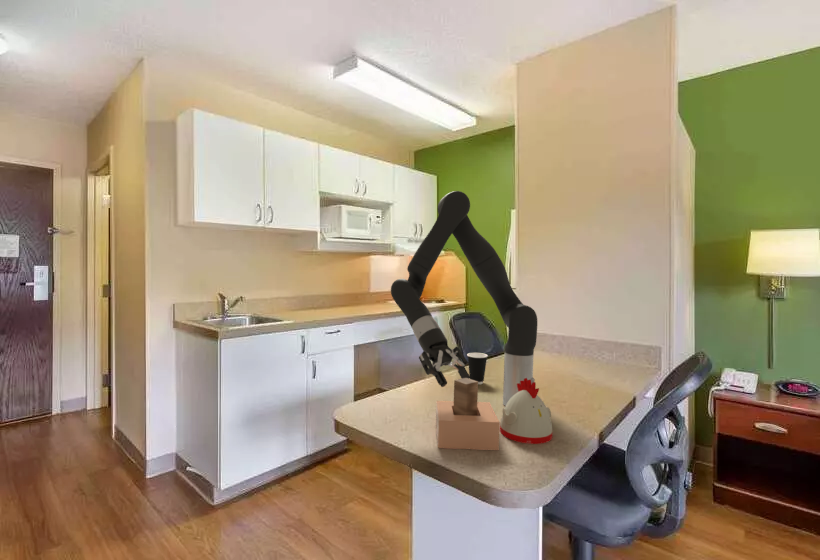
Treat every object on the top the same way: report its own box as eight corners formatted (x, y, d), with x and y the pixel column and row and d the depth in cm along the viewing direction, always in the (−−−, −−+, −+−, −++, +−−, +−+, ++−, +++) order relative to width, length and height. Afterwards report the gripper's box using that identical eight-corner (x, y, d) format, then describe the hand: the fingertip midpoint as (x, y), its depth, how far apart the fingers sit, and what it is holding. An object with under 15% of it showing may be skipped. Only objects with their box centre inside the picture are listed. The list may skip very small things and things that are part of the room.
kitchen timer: (521, 447, 105) (523, 388, 105) (489, 427, 118) (491, 374, 117) (563, 439, 111) (565, 383, 110) (529, 421, 123) (531, 370, 123)
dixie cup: (491, 384, 160) (491, 356, 160) (473, 386, 157) (474, 357, 157) (479, 379, 168) (480, 352, 167) (462, 381, 164) (463, 353, 164)
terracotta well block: (488, 426, 118) (489, 402, 118) (498, 450, 103) (499, 422, 103) (435, 424, 118) (436, 400, 118) (438, 448, 103) (438, 420, 103)
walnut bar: (464, 428, 114) (465, 377, 113) (476, 433, 110) (478, 381, 110) (452, 432, 111) (454, 380, 110) (464, 437, 107) (466, 384, 107)
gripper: (416, 329, 115) (444, 379, 107) (453, 325, 124) (481, 371, 116) (404, 345, 119) (430, 394, 111) (440, 340, 128) (467, 385, 120)
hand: (456, 382), depth 113 cm, fingers open, 8 cm apart
